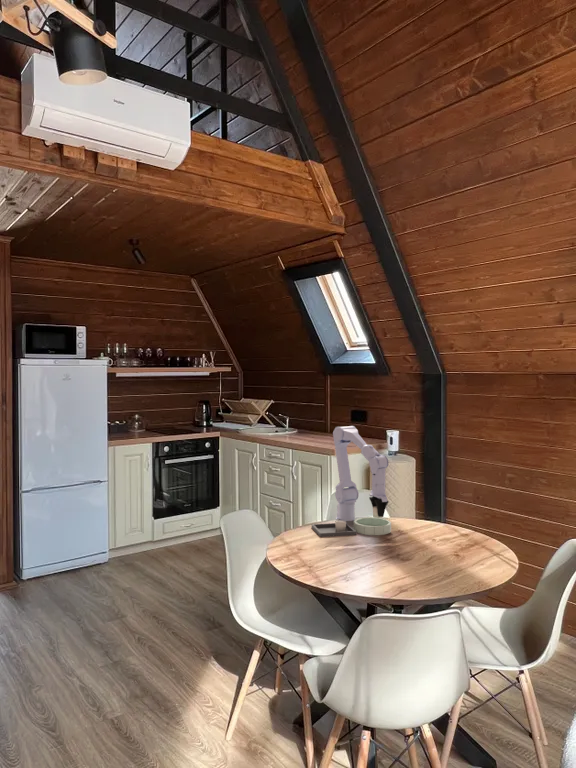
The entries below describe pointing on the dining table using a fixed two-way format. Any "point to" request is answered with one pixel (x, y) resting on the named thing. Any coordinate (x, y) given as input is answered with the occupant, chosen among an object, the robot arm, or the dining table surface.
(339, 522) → the pebble
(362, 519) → the bowl
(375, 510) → the pebble
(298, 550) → the dining table surface
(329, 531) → the tray
